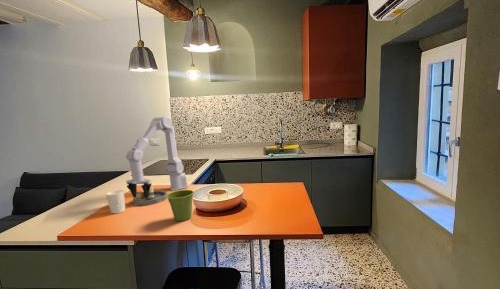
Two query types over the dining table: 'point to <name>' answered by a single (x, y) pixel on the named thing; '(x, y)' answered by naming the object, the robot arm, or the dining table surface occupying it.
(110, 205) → the white cup
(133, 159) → the robot arm
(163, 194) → the groove dish
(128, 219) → the dining table surface
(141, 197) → the bead
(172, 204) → the plant pot
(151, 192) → the bead
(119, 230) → the dining table surface
